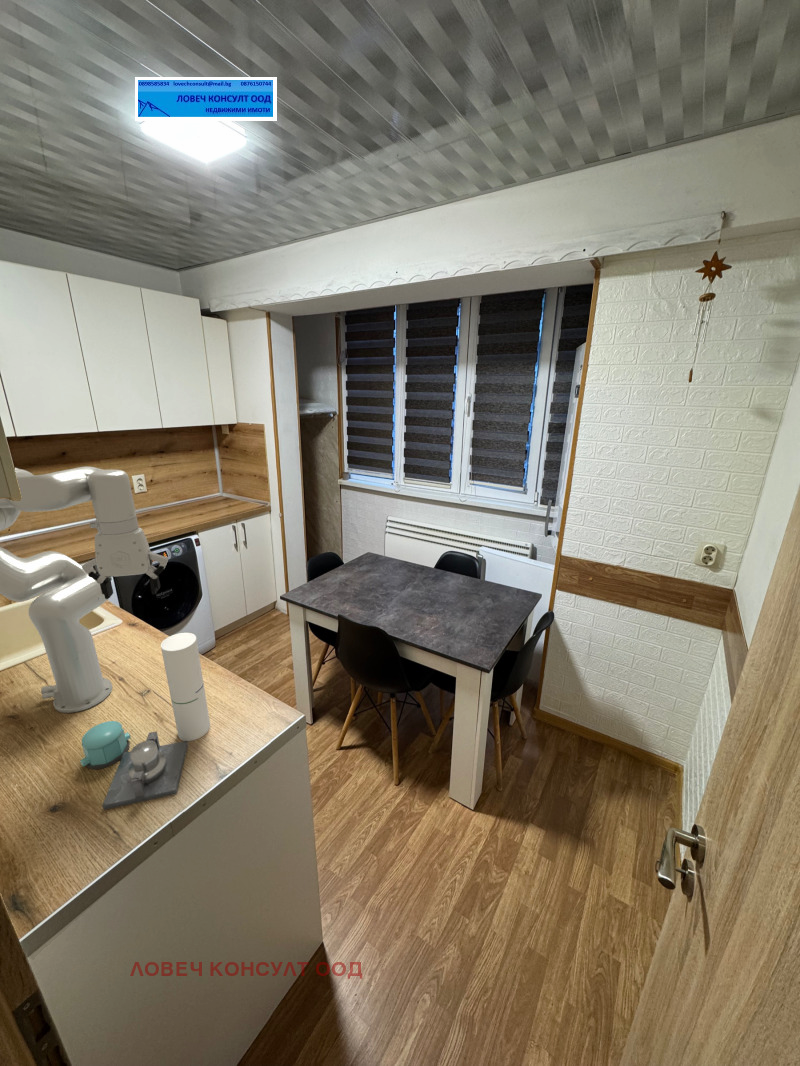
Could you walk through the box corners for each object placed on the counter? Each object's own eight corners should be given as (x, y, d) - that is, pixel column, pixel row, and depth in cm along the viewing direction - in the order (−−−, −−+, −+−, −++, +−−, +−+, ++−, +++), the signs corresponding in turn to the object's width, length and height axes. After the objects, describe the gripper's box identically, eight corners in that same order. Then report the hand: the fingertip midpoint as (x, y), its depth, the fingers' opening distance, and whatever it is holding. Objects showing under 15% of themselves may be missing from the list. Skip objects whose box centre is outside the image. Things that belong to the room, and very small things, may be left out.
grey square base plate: (176, 794, 86) (170, 768, 83) (103, 809, 82) (95, 783, 80) (188, 744, 97) (183, 720, 95) (124, 756, 94) (118, 732, 92)
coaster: (78, 773, 90) (77, 771, 89) (93, 742, 97) (93, 740, 97) (122, 764, 92) (122, 762, 92) (134, 735, 100) (133, 733, 99)
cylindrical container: (216, 722, 104) (203, 636, 96) (194, 744, 97) (178, 653, 89) (193, 715, 106) (179, 630, 98) (171, 736, 100) (153, 646, 91)
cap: (90, 774, 89) (84, 756, 87) (75, 757, 93) (69, 739, 91) (137, 744, 96) (133, 727, 95) (122, 730, 100) (117, 713, 98)
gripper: (65, 533, 88) (83, 605, 93) (157, 528, 92) (169, 597, 98) (80, 523, 94) (96, 591, 100) (165, 518, 99) (176, 583, 105)
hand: (132, 594), depth 99 cm, fingers open, 9 cm apart
